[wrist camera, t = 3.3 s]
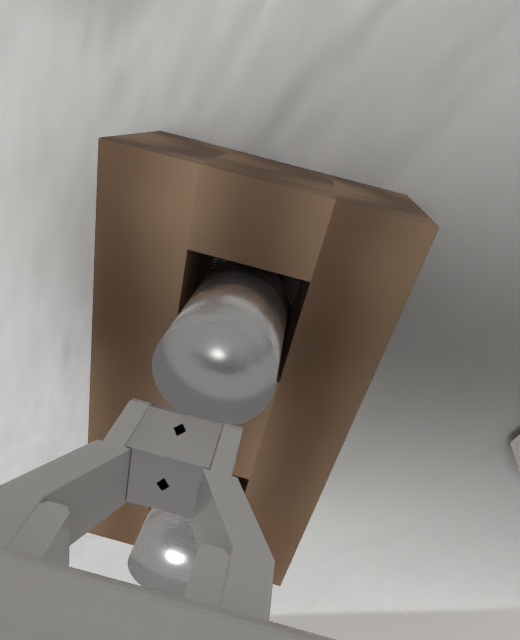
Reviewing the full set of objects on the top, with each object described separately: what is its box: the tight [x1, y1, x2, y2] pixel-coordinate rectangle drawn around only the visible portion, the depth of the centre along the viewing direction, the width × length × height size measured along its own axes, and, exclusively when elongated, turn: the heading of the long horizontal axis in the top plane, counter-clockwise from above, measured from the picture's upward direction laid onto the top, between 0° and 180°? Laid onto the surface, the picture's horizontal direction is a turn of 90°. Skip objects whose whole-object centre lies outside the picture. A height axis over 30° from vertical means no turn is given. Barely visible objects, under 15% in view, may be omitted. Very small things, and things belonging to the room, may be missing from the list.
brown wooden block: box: [88, 131, 439, 586], centre depth 22 cm, size 12×22×6 cm, turn 167°
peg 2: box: [128, 475, 239, 598], centre depth 21 cm, size 4×4×6 cm
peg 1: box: [152, 261, 289, 425], centre depth 15 cm, size 4×4×6 cm
